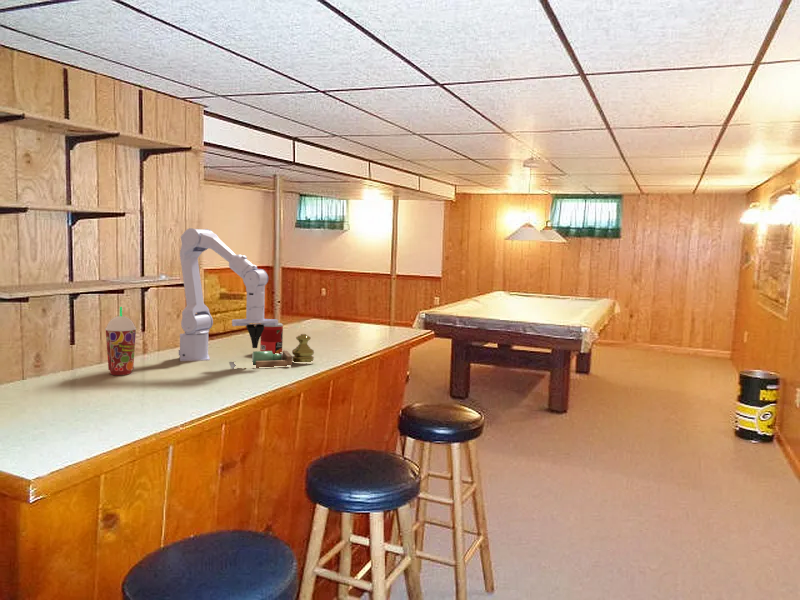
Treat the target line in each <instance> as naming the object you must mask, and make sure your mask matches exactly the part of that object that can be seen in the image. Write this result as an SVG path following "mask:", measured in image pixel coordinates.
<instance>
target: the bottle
mask: <svg viewBox="0 0 800 600" xmlns="http://www.w3.org/2000/svg"><path fill="white" fill-rule="evenodd" d="M251 357H252V359H251V361H252V362H253V365H256V361H271V360H283V352H282V353H280V354H273V353H272V351H260V350H259V351H258V350H257V351H254V350H253V351H252V355H251Z"/></svg>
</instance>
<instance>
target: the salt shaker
mask: <svg viewBox="0 0 800 600" xmlns="http://www.w3.org/2000/svg"><path fill="white" fill-rule="evenodd" d="M295 338H296V340H297V341H298V343H299V344H298V345H297V346H296V347H294V348H293V349H292V351H291V352H292V354H291V356H292V355H293V356H292V361H294V362H311V361H313V360H314V358H315V357H314V353H315V350H314V349H313V348H311V346H309V344H308V342H310V340H311V339H312V336H309V335H308V334H306V333H301V334H300V335H297V336H296V337H295ZM314 361H315V360H314Z"/></svg>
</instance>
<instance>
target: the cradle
mask: <svg viewBox="0 0 800 600" xmlns="http://www.w3.org/2000/svg"><path fill="white" fill-rule="evenodd" d="M282 354H283V360H271V361H256V368H259V367H274V366H287V365H292V366H293V363H292V354H291V353H290V352H289V351H288V350H282ZM234 362H235V361H228V363H229V365H230V369H231V370H232V369H234V367H235V366H236V365H235V364H234Z"/></svg>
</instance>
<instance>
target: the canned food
mask: <svg viewBox="0 0 800 600" xmlns="http://www.w3.org/2000/svg"><path fill="white" fill-rule="evenodd" d="M283 333H284V325H283V323H281V322H278V326H264V330H263V332H262V334H261V336H260V340H259V343H260V347H259V348H260V350H259V351H272V353H273V354H275V353H280V352H282V353H283V342H284V341H283V337H284V335H283Z"/></svg>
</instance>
